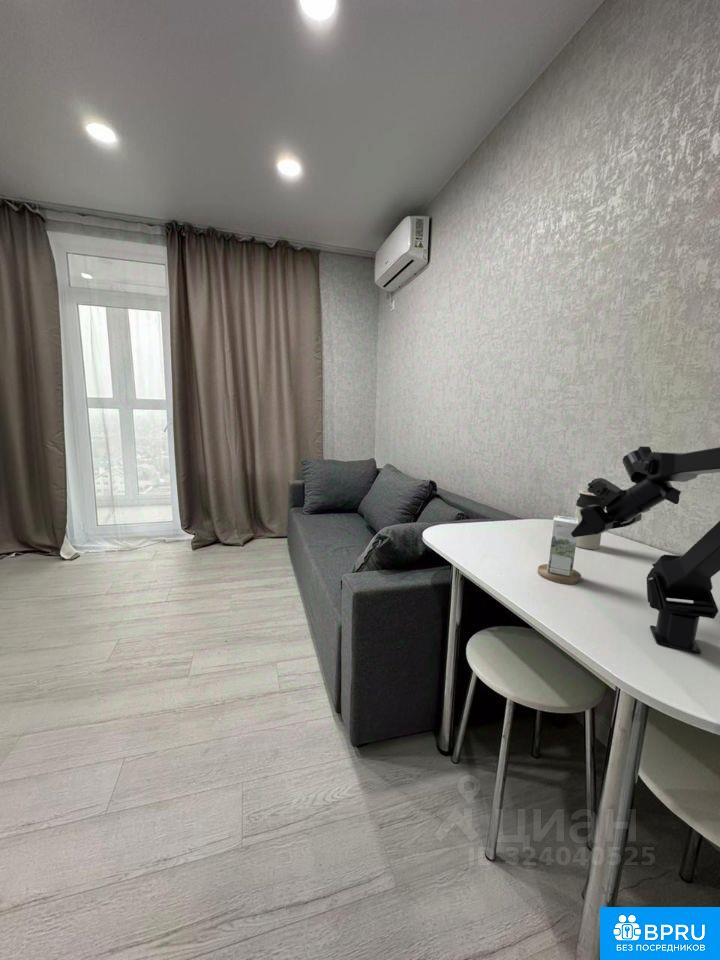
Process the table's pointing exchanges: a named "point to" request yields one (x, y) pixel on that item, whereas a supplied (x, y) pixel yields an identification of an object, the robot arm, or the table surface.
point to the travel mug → (583, 500)
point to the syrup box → (562, 546)
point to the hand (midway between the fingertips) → (582, 532)
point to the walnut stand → (559, 576)
